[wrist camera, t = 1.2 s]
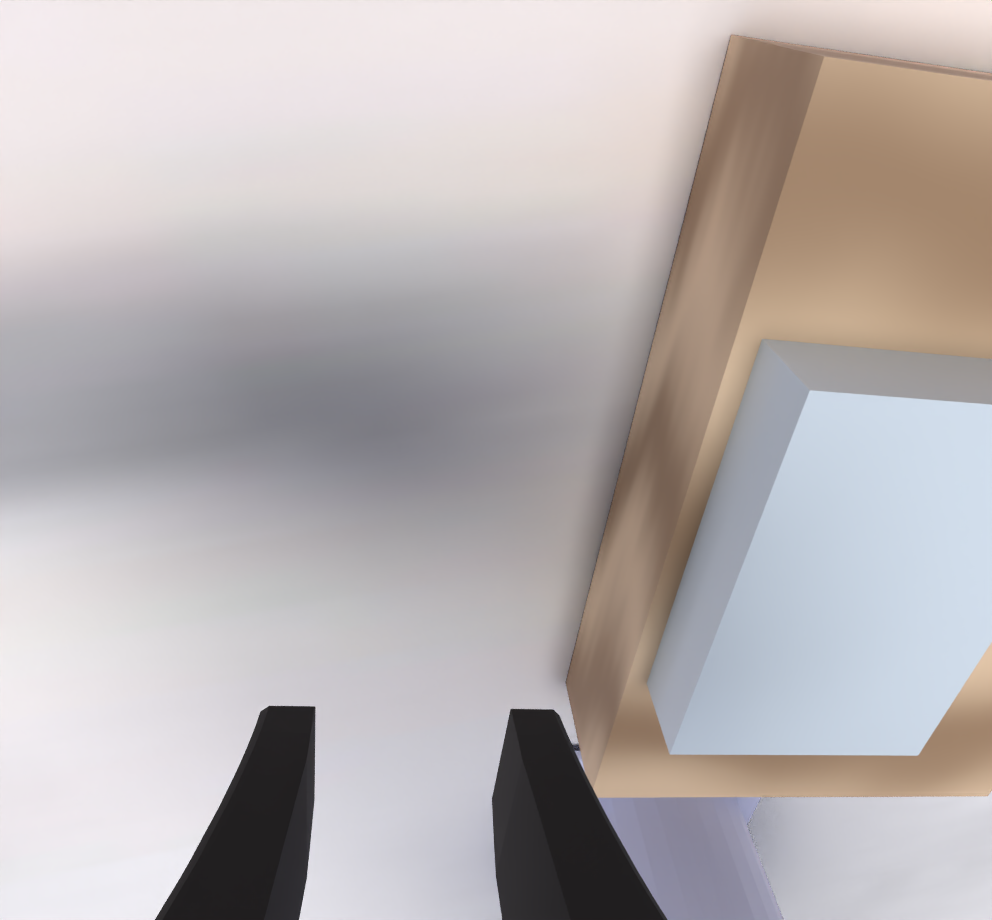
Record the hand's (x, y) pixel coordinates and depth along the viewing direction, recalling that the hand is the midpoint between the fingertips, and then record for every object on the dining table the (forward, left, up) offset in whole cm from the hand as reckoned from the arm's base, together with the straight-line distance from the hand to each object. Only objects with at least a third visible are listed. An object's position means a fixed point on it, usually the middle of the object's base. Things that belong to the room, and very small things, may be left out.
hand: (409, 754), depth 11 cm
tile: (0, -9, -5) cm, 10 cm away
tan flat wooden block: (0, -12, -9) cm, 15 cm away
